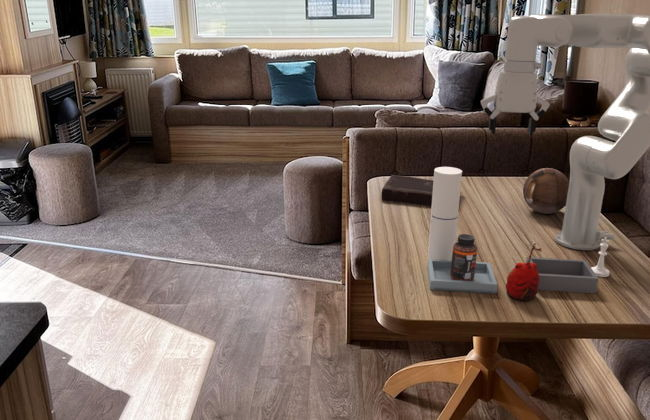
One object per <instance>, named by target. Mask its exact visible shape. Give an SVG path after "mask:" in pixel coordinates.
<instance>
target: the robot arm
mask: <svg viewBox="0 0 650 420" xmlns="http://www.w3.org/2000/svg"><path fill="white" fill-rule="evenodd" d="M507 26H508V27H507V34H506V35H507V36H506V45H505V54H504V63H503V69H502V70H503V71H499V74H498V77H497V81H496V86H495V93H494V94H492V95H489V96H488V97H485V98H484V99H483V98H482V99H481V100H480V105H481V107H482V109H483V111H484V113H486V115H487V116H488V117H489V122H488V130H489V131H490V133H491V135H495V134H496V128H497V118H496V117H497V116H498V115H499V114H500V113H514V114H515V113H518V114H522V113H523V114H529V115H530V118H529V120H528V128H527V134H528V135H529V136H531V137H532V136H533V135H534V133H535V132H536V130H537V122H538V120H539V119H540V118H542V116H544V115H545V114H546V112H547V110H548V108H549V107H550V105H551V104H550V102H548V101H547V100H545V99H543V98H541V97H540V96H538V75H537V73H536V70H539V69H541V68H542V63H540V62H537V53H538V52H537V51H538V47H539V46H543V47H548V48H560V47H562V46H564V45H565V46H566V45H567V46H574V47H577V48H578V47H579V48H590V49H591V48H592V49H598V48H599V49H601V48H602V49H606V48H608V49H609V48H611V49H612V48H613V49H614V48H615V49H618V48H623V49H624V48H626V49H627V48H629V50H628V52H627V54H626V56H625V61H624V64H625V66H624V67H625V83H624V87H623V88H622V89H621V91H620V93H619V94H618V96H617V97H616V98H615V99H614V100H613V102H612V103H611V104H610V106H609V107H608V108H607V110H606V111H604V113H603V114H602V116H601V117H600V119H599V121H598V123H597V131H598V132H599V134H600V135H602V136H603V137H604V138H602V137H598V136H594V135H584V136H581V137H579V138H577V139H575V141H574V142H573V143H572V145H571V148H570V150H569V166H570V167H569V169H570V171H569V172H570V173H569V188H568V194H567V201H566V206H565V207H564V208H565V209H564V215H563V222H562V227H561V229H562V230H561V231H560V232H558V233H556V234H555V238H554V240H555V241H556V243H557V244H559V245H561V246H563V247H565V248H568V249H572V250H577V251H594V250H597V249H599V248H601V247H600V244H601V243H602V241H601V240H602V239H604V238H605V237H606V240H609V241H614V239H615V234H614V233H610V232H607V230H600V229H599V222H600V217H601V213H602V211H601V210H602V206H603V199H604V195H605V188H606V187H605V186H606V183H605V179H610V180H618V179H621V178H623V177H624V176H626V175H627V174H628V173H629V172H630V171H631V169H633V167H634V166H635V165H636V164H637V162H638V161H639V160H640V159H641V157H642V156H643V155H644V154H645V152H646V151H647V150H648V149H649V148H650V113H649V111H648V110H649V108H650V15H649V14H648V15H647V14H632V13H631V14H630V13H629V14H624V13H622V14H621V13H620V14H617V13H615V14H613V13H580V14H538V13H537V14H531V15H529V16H527V15H524V16H523V15H521V16H520V15H518V16H517V15H516V16H512V17H511V18H510V19H509V21H508V25H507ZM492 102H493V109H492V110H491V109H490V108H489V106H488V104H489V103H492ZM537 103H538V104H540V105H541V107H540V109H538V110H537V111H536V109H537ZM535 111H536V112H535ZM605 138H606V139H605ZM608 139H609V140H608ZM610 140H612V141H610ZM613 141H615V142H613Z"/></svg>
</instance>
